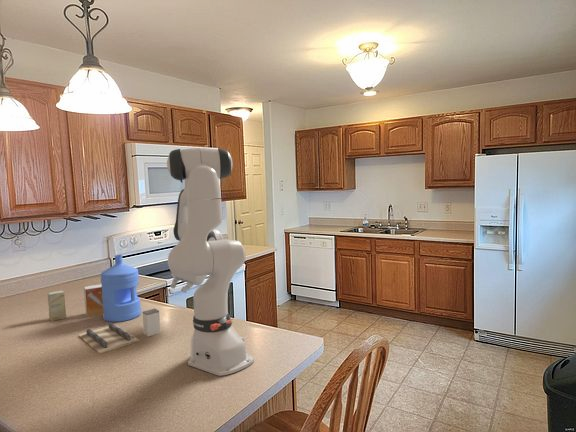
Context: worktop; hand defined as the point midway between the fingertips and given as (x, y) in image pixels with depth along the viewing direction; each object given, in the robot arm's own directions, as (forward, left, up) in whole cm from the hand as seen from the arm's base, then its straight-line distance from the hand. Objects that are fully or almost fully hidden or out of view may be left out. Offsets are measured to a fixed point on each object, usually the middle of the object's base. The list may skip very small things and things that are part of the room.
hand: (177, 289), depth 159 cm
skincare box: (+51, +33, -15) cm, 63 cm away
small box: (+44, +19, -15) cm, 50 cm away
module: (0, +12, -15) cm, 19 cm away
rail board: (+8, +26, -15) cm, 31 cm away
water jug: (+30, +12, -15) cm, 36 cm away
